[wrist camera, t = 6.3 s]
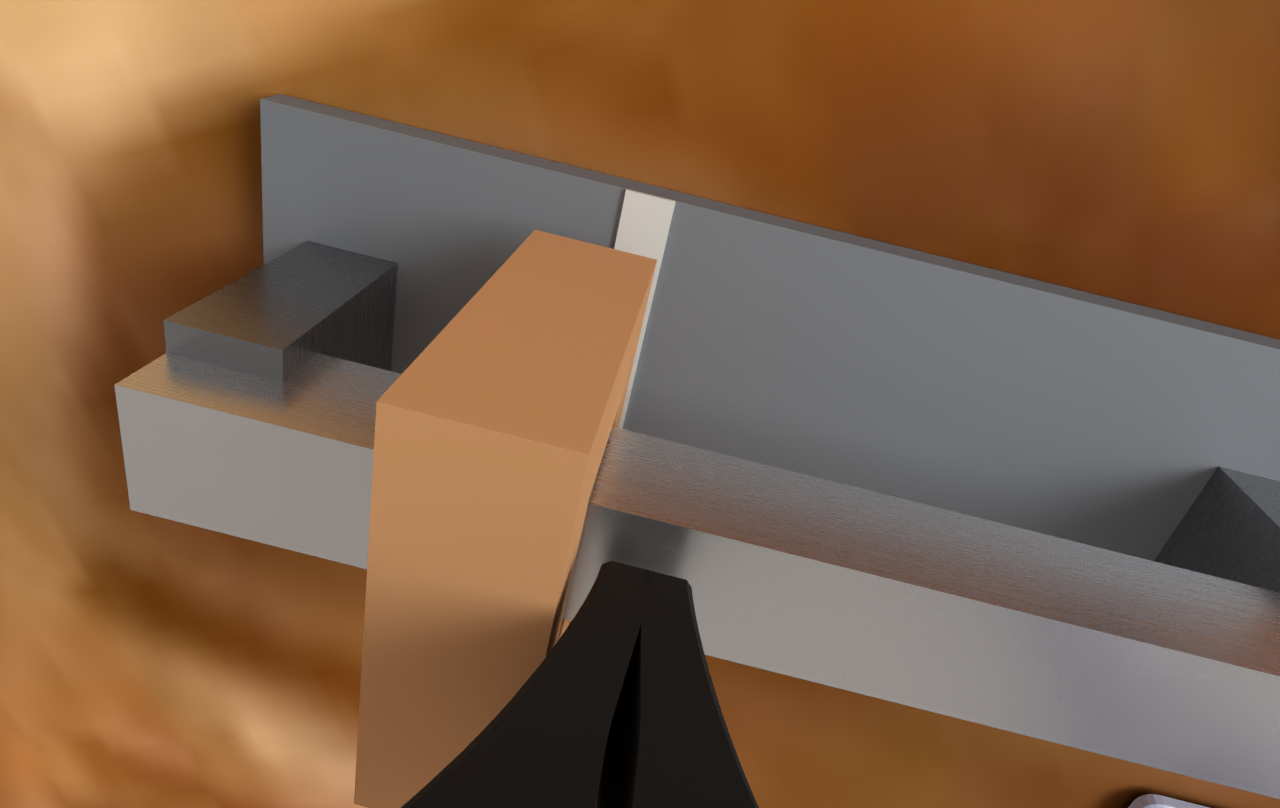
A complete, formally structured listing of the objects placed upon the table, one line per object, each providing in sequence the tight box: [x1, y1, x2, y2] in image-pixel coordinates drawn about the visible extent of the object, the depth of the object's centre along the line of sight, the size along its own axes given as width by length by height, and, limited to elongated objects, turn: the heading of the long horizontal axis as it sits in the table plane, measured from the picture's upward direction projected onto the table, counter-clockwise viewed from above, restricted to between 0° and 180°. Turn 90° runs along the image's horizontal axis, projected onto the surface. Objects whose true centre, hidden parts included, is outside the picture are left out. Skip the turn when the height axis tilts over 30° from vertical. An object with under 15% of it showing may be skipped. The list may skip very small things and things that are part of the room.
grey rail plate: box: [114, 241, 1280, 799], centre depth 15 cm, size 22×4×6 cm, turn 78°
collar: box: [354, 230, 657, 808], centre depth 13 cm, size 2×7×7 cm, turn 168°
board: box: [260, 94, 1280, 561], centre depth 18 cm, size 24×9×1 cm, turn 78°
